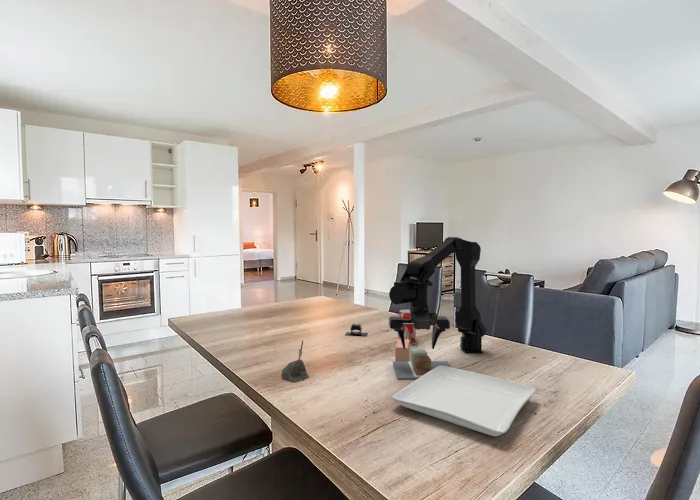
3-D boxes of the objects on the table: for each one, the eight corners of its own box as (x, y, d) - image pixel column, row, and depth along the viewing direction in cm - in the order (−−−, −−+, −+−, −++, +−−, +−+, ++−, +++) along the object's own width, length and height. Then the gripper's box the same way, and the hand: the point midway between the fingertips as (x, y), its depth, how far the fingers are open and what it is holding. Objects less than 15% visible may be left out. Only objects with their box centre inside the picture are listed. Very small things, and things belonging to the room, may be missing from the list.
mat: (447, 363, 126) (447, 361, 126) (458, 379, 112) (458, 377, 112) (392, 362, 127) (392, 361, 126) (397, 379, 113) (397, 377, 112)
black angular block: (372, 334, 163) (372, 323, 163) (369, 339, 156) (369, 328, 156) (343, 332, 166) (343, 322, 165) (339, 337, 158) (339, 326, 158)
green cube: (424, 362, 125) (424, 348, 125) (427, 367, 121) (427, 353, 120) (410, 362, 125) (410, 348, 125) (412, 367, 121) (412, 353, 120)
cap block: (409, 353, 137) (409, 339, 137) (407, 362, 127) (407, 348, 127) (398, 352, 138) (398, 338, 137) (395, 361, 128) (395, 347, 128)
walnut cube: (428, 369, 119) (428, 355, 118) (431, 375, 114) (431, 360, 114) (413, 369, 119) (413, 355, 118) (416, 375, 114) (416, 360, 114)
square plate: (439, 375, 115) (439, 363, 115) (537, 401, 98) (537, 386, 98) (389, 409, 94) (389, 394, 94) (503, 449, 77) (504, 431, 77)
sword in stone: (275, 374, 118) (276, 335, 117) (298, 369, 122) (299, 332, 122) (290, 385, 110) (291, 343, 109) (313, 379, 114) (315, 339, 114)
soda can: (410, 344, 146) (410, 313, 146) (394, 341, 151) (394, 311, 150) (418, 340, 152) (418, 310, 151) (403, 337, 156) (403, 308, 156)
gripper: (392, 306, 114) (391, 357, 115) (454, 305, 113) (454, 357, 114) (388, 299, 125) (388, 345, 126) (445, 299, 125) (445, 346, 125)
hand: (418, 348), depth 122 cm, fingers open, 9 cm apart
